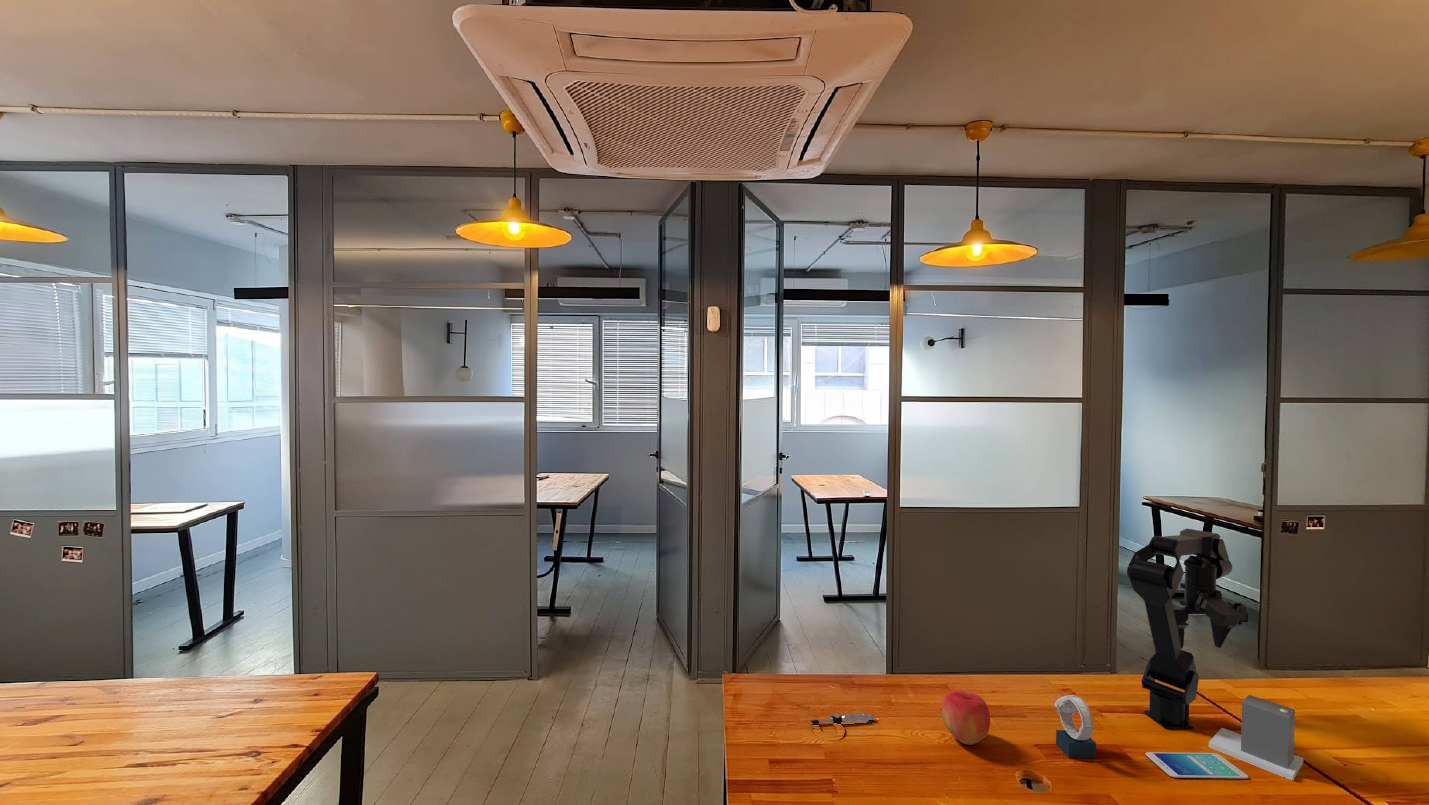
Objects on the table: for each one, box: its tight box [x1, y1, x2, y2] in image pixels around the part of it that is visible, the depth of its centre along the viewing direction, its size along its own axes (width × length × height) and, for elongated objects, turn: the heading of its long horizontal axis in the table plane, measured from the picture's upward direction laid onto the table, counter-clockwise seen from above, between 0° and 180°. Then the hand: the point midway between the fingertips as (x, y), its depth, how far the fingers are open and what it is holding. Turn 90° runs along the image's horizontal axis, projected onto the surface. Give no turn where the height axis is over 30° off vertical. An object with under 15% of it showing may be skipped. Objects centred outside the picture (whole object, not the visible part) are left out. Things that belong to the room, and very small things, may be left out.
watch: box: [1054, 694, 1097, 759], centre depth 117 cm, size 6×8×11 cm
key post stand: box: [1208, 727, 1304, 781], centre depth 116 cm, size 12×9×5 cm
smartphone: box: [1145, 751, 1249, 781], centre depth 112 cm, size 8×1×15 cm
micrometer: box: [810, 712, 876, 729], centre depth 124 cm, size 15×7×2 cm, turn 98°
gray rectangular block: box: [1240, 694, 1296, 769], centre depth 114 cm, size 7×5×10 cm
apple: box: [941, 689, 991, 746], centre depth 121 cm, size 10×10×10 cm
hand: (1199, 647), depth 135 cm, fingers open, 9 cm apart
